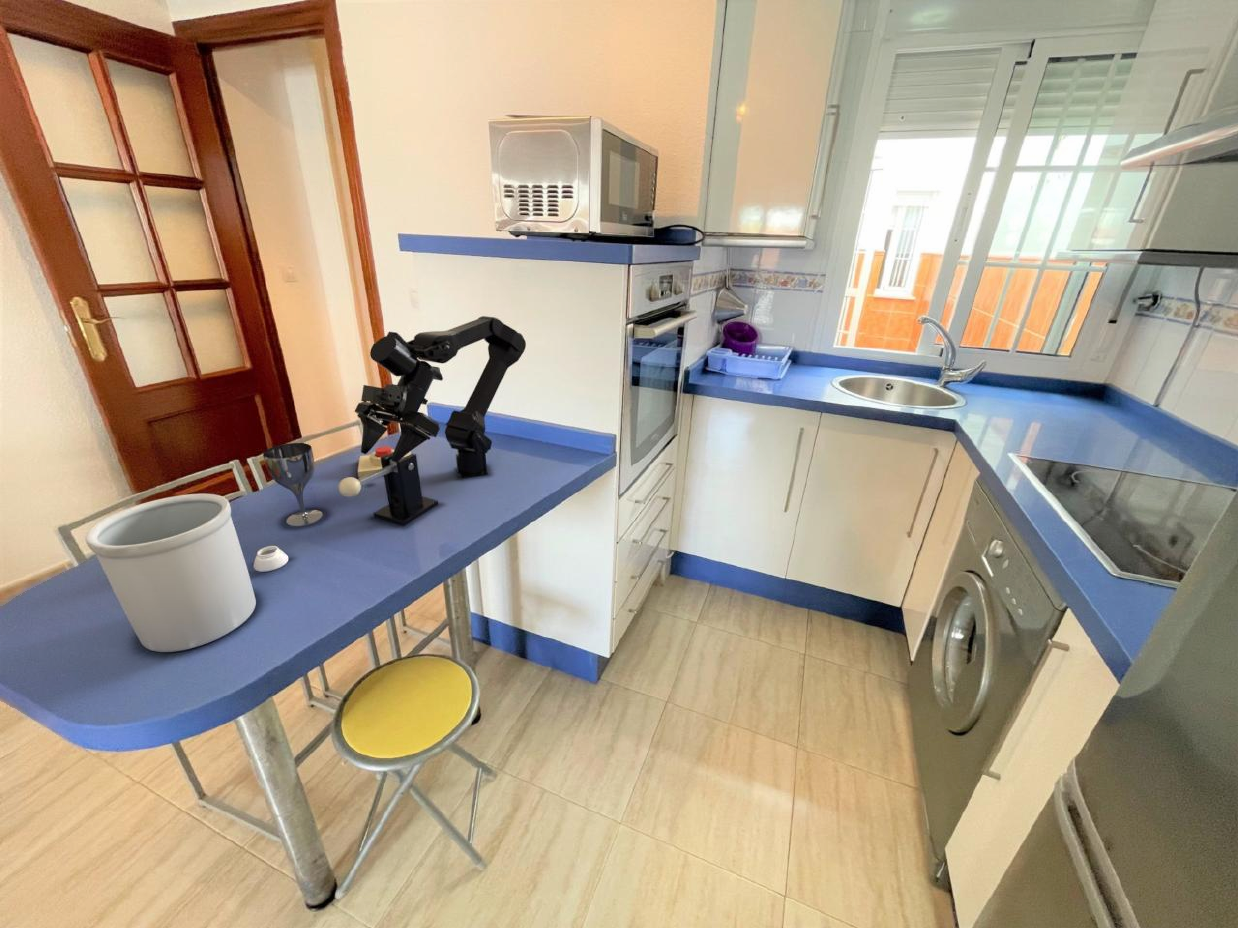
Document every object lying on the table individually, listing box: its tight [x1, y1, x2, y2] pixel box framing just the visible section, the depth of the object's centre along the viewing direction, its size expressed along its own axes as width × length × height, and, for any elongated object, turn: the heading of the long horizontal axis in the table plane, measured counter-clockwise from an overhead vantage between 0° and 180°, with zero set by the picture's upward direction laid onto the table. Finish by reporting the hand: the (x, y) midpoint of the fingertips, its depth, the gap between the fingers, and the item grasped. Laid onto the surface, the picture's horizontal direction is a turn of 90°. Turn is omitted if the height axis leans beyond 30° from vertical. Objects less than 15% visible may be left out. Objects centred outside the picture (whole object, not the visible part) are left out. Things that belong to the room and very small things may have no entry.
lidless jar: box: [253, 545, 289, 573], centre depth 87 cm, size 5×3×5 cm
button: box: [374, 445, 392, 457], centre depth 124 cm, size 4×4×2 cm
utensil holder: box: [84, 493, 257, 653], centre depth 71 cm, size 15×15×18 cm
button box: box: [357, 448, 412, 479], centre depth 125 cm, size 12×10×4 cm
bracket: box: [373, 452, 439, 527], centre depth 103 cm, size 10×8×13 cm
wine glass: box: [262, 442, 323, 527], centre depth 99 cm, size 8×8×15 cm
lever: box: [338, 457, 404, 498], centre depth 96 cm, size 15×4×4 cm, turn 157°
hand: (378, 457), depth 98 cm, fingers open, 9 cm apart
